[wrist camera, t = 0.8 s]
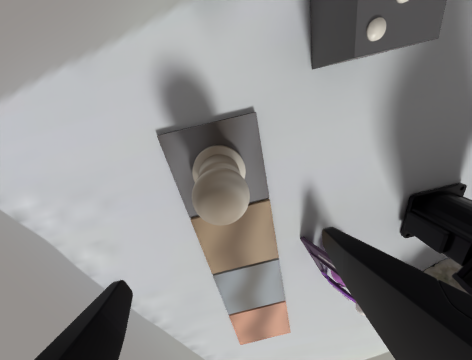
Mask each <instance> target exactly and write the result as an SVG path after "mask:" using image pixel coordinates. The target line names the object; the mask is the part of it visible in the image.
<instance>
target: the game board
mask: <svg viewBox="0 0 472 360" xmlns="http://www.w3.org/2000/svg"><path fill="white" fill-rule="evenodd" d="M157 137H158V140H159V142H160V145H161V147H162V150H163V152H164V155H165V157H166V160H167V162H168V165H169V167H170V170H171V172H172V175H173V177H174V180H175V182H176V185H177V187H178V190H179V192H180V195H181V197H182V200H183V202H184V205H185V207H186V210H187V212H188V215H189V217H191V216H195V215H198V214H197V212H196V211H195V209H194V207H193V203H192V190H193V187H194V185H195V181H194V179H193V174H192V171H193V165H194V162H195V159H196V157H197V156H198V155H199V153H200V152H201V151H203V150H204V149H206V148H208V147H210V146H214V145H224V146H228V147H230V148H232V149H234V150H235V151H236V152H237V153H238V154H239V155H240V156H241V158H242V160H243V162H244V165H245V169H246V174H245V179H244V180H245V181H246V183H247V185H248V188H249V193H250V200H249V202H253V201H257V200H261V199H265V198H269V192H268V186H267V180H266V173H265V167H264V160H263V154H262V148H261V141H260V135H259V129H258V122H257V116H256V112H253V113H249V114H245V115H241V116H236V117H232V118H228V119H224V120H220V121H216V122H211V123H207V124H203V125H199V126H195V127H190V128H186V129H182V130H178V131H174V132H170V133H165V134H161V135H158V136H157ZM191 222H192V225H193V227H194V230H195V232H196V235H197V237H198V240H199V242H200V245H201V247H202V250H203V252H204V255H205V257H206V260H207V262H208V265H209V267H210V270H211V272H212V274H213V277H214V280H215V282H216V285H217V287H218V290H219V292H220V295H221V297H222V300H223V302H224V305H225V307H226V310H227V312H228V315H229V317H230V320H231V322H232V325H233V327H234V330H235V332H236V335H237V337H238V340H239V342H240V345H243V344H247V343H251V342H255V341H259V340H263V339H267V338H271V337H275V336H279V335H283V334H287V333H290V326H289V320H288V313H287V307H286V301H285V294H284V288H283V282H282V275H281V269H280V262H279V256H278V250H277V243H276V237H275V231H274V224H273V218H272V211H271V205H270V200H269V199H266V200H262V201H257V202H253V203H249V204H248V208H247V210H246V211H245V213H244V214H243V216H242V217H241V218H239V219H238V220H237V221H235V222H233V223H231V224H228V225H222V226H220V225H213V224H210V223H208V222H206V221H204V220H203V219H202V218H201V217H200V216H196V217H192V218H191Z"/></svg>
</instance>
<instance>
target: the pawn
mask: <svg viewBox="0 0 472 360" xmlns="http://www.w3.org/2000/svg"><path fill="white" fill-rule="evenodd" d="M192 174H193V179H194V181H195V185H194V187H193V190H192V203H193V207H194V209H195V211H196V212H197V214H198V215H199V216H200V217H201V218H202V219H203V220H204V221H206V222H208V223H210V224H213V225H220V226H222V225H228V224H231V223H233V222H235V221H237V220H238V219H239V218H241V217H242V216H243V214H244V213H245V211H246V210H247V208H248V204H249V200H250V193H249V188H248V185H247V183H246V181H245V180H244V179H245V174H246V169H245V165H244V162H243V160H242V158H241V156H240V155H239V154H238V153H237V152H236V151H235V150H234V149H232V148H230V147H228V146H224V145H214V146H210V147H208V148H206V149H204V150H203V151H201V152H200V153H199V155H198V156H197V157H196V159H195V162H194V165H193V171H192Z"/></svg>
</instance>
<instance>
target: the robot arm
mask: <svg viewBox="0 0 472 360" xmlns="http://www.w3.org/2000/svg"><path fill="white" fill-rule="evenodd" d="M466 187H467V186H466V185H465V184H462V183H458V184H454V185H450V186H446V187H442V188H438V189H434V190H430V191H426V192H422V193H418V194H414V195H412V196H411V197H410V199H409V203H408V207H407V211H406V216H405V220H404V224H403V228H402V233H401V235H402V236H403V237H404V238H409V237H413V236H415V237H417V238H418V239H420V240H421V241H423V242H424V243H425V244H427V245H428V246H430V247H431V248H433V249H434V250H435V251H437V252H438V253H443V254H445V255H446V256H448V257H449V258H451V259H452V260H454V261H455V262H456V263H458V264H459V265H461V266H462V267H461V268H460V269H459V270H458V271H457V272H455V273H454V274H453V275H452V278H454V279H455V280H456V281H457V282H458V283H459V285H460V286H461V287H462V288H463V289H464V290H465V291H466V292H467V293H466V292H464V291H462V290H460V289H458V288H455V287H453V286H451V285H449V284H447V283H445V282H443V281H441V280H437V279H436V278H435V277H433V276H431V275H429V274H427V273H425V272H423V271H421V270H419V269H417V268H415V267H413V266H411V265H409V264H407V263H405V262H403V261H401V260H399V259H397V258H394V257H392V256H390V255H388V254H386V253H384V252H382V251H380V250H378V249H376V248H374V247H372V246H370V245H368V244H366V243H364V242H362V241H360V240H358V239H356V238H354V237H352V236H350V235H348V234H346V233H344V232H342V231H340V230H338V229H336V228H334V227H329V228H325V229H323V230H322V242H323V246H324V248H325V250H326V252H327V254H328V256H329V258H330V259H331V261H332V263H333V265H334V267H335V269H336V271H337V272H338V274H339V276H340V278H341V280H342V281H343V283H344V284H345V286H346V287H347V289H348V290H349V292H350V293H351V295H352V296H353V298H354V299H355V301H356V302H357V304H358V305H359V307H360V308H361V310H362V311H363V313H364V314H365V315H366V317H367V318H368V320H369V321H370V323H371V324H372V326H373V327H374V329H375V330H376V332H377V333H378V335H379V336H380V338H381V339H382V341H383V342H384V344H385V345H386V346H387V348H388V349H389V351H390V352H391V354H392V355H393V357H394V358H395V360H472V200H470V199H468V198H465V197H463V195H464V192H465V190H466ZM132 297H133V293H132V290H131V289H130V288H129V286H128V285H127V284H126V282H125V281H124V280H120V281H116V282H113V283H111V284H110V285H109V286H108V287H107V288H106V289H105V290H104V291H103V292H102V293H101V294H100V295H99V297H97V298H96V299H95V300H94V301H93V302H92V303H91V304H90V305H89V306H88V307H87V308H86V309H85V310H84V311H83V312H82V313H81V314H80V315H79V316H78V317H77V318H76V319H75V320H74V321H73V322H72V323H71V324H70V325H69V326H68V327H67V328H66V329H65V330H64V331H63V332H62V333H61V334H60V335H59V336H58V337H57V338H56V339H55V340H54V341H53V342H52V343H51V344H50V345H49V346H48V347H47V348H46V349H45V350H44V351H43V352H42V353H41V354H40V355H38V356H37V358H35V360H118V359H119V355H120V352H121V348H122V345H123V341H124V337H125V333H126V328H127V322H128V318H129V313H130V308H131V302H132Z"/></svg>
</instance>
